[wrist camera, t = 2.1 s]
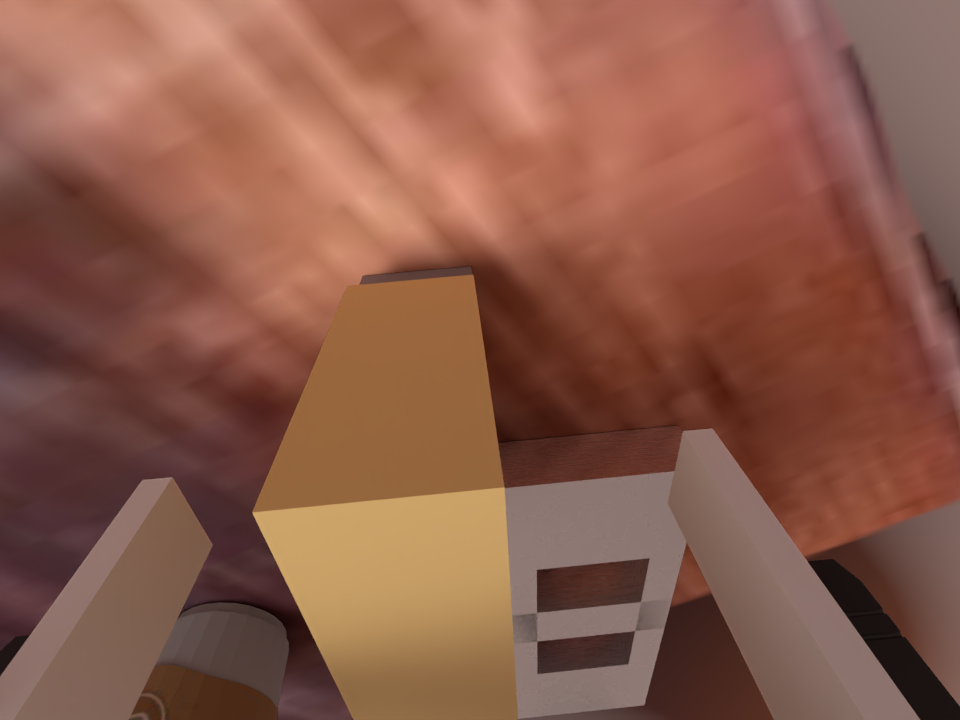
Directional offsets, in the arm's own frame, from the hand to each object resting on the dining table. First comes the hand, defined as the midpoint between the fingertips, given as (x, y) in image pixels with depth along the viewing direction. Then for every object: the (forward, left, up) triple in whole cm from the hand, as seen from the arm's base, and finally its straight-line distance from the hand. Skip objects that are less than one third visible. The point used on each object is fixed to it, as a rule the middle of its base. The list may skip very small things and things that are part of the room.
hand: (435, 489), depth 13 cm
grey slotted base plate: (+6, -14, -6) cm, 16 cm away
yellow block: (0, 0, -6) cm, 6 cm away
